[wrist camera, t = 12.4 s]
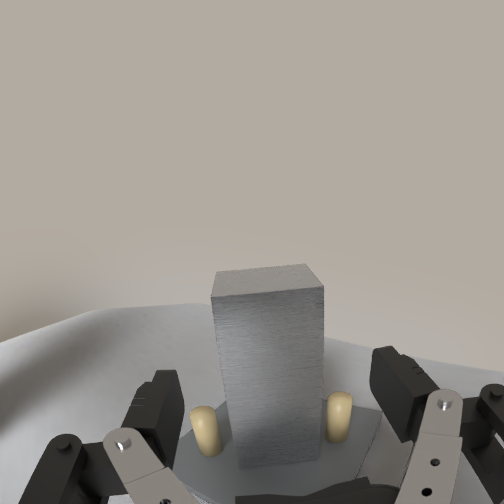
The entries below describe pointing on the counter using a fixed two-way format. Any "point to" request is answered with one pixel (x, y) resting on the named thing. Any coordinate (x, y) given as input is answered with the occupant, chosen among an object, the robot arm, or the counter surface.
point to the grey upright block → (271, 361)
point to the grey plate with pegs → (278, 477)
